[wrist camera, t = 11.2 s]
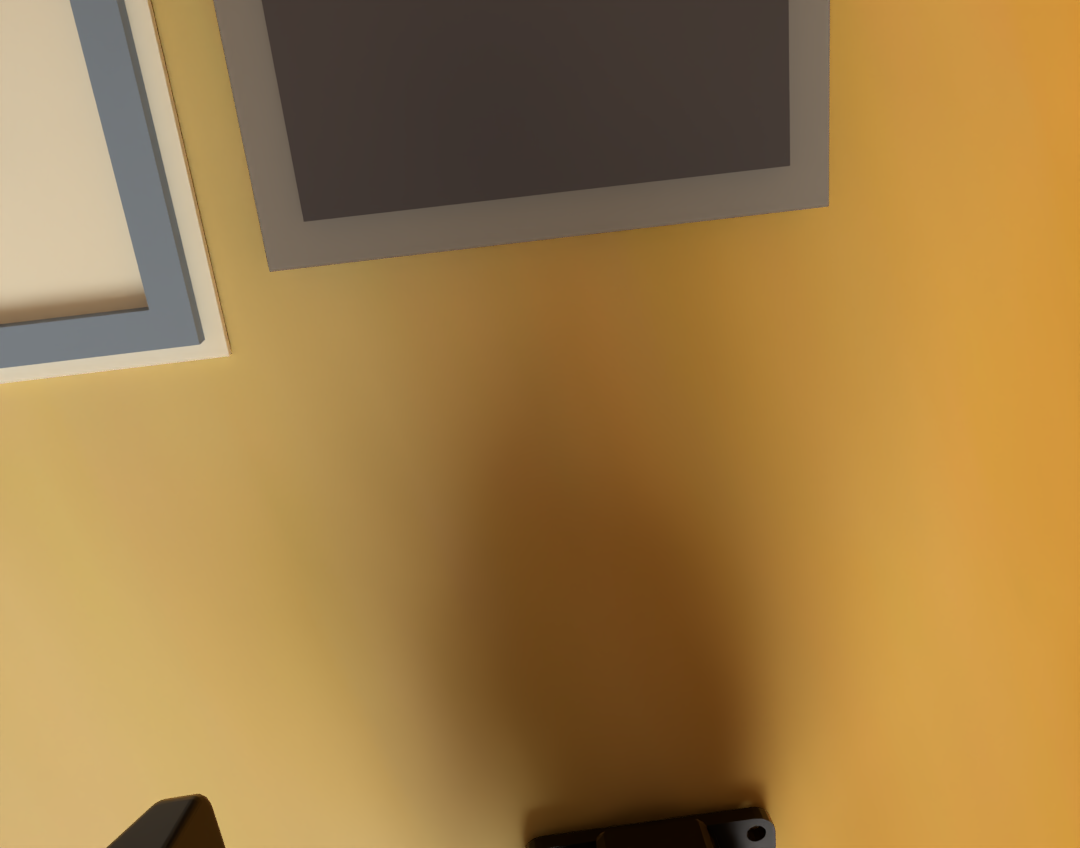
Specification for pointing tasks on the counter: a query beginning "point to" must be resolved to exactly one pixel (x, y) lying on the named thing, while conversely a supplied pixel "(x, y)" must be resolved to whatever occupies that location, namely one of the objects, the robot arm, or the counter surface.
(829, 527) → the counter surface
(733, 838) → the robot arm
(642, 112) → the ink pad
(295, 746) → the counter surface
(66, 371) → the marked sheet
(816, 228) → the counter surface
